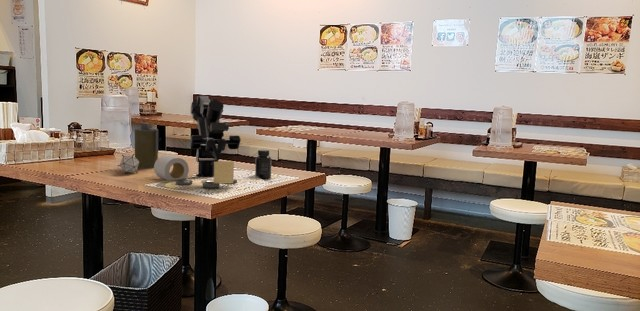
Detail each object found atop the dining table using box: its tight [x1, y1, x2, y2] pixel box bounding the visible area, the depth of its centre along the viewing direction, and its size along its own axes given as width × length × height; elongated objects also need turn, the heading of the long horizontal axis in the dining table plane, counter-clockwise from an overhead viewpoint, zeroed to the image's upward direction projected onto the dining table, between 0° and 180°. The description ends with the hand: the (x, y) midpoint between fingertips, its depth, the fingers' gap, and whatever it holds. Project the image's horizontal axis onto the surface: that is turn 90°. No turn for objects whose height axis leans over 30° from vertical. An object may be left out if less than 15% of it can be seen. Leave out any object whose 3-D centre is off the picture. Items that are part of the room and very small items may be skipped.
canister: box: [133, 122, 159, 169], centre depth 224 cm, size 11×10×20 cm
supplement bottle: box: [254, 149, 272, 180], centre depth 210 cm, size 7×7×12 cm
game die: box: [117, 153, 141, 175], centre depth 207 cm, size 9×8×10 cm
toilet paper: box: [153, 154, 190, 181], centre depth 194 cm, size 10×10×10 cm
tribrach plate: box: [175, 178, 238, 186], centre depth 186 cm, size 18×20×2 cm
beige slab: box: [202, 160, 235, 190], centre depth 179 cm, size 11×6×10 cm, turn 113°
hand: (218, 159), depth 186 cm, fingers closed
